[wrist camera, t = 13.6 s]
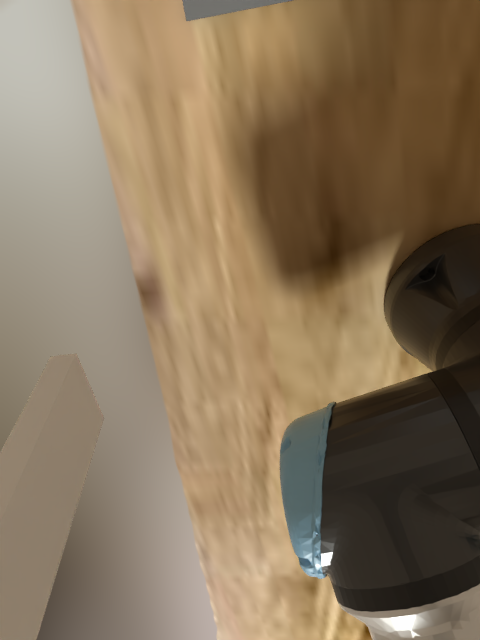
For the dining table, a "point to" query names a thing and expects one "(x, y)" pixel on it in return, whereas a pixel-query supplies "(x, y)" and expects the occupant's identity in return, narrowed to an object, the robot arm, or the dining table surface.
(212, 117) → the dining table surface
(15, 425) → the robot arm
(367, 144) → the dining table surface
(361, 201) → the dining table surface
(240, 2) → the bottle holder
